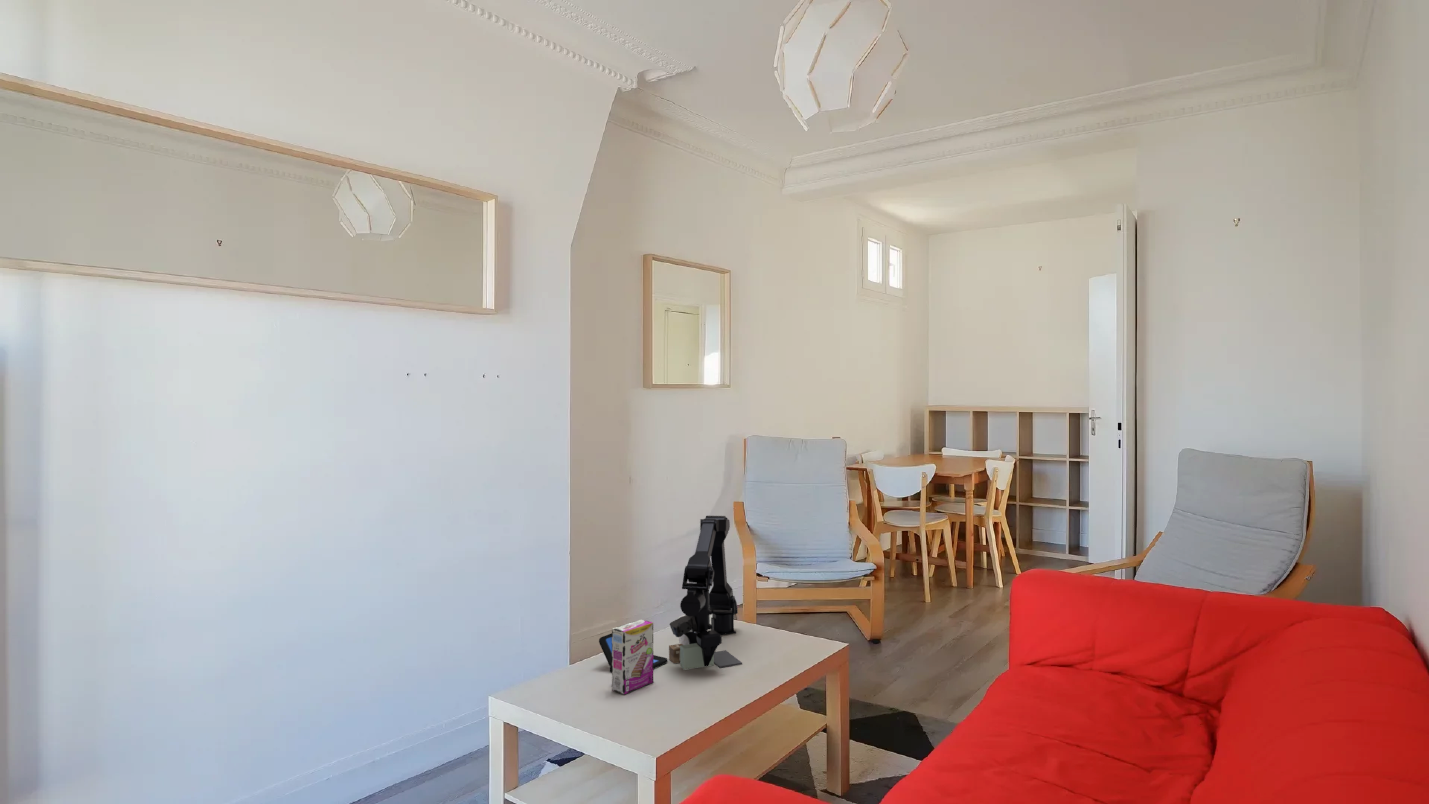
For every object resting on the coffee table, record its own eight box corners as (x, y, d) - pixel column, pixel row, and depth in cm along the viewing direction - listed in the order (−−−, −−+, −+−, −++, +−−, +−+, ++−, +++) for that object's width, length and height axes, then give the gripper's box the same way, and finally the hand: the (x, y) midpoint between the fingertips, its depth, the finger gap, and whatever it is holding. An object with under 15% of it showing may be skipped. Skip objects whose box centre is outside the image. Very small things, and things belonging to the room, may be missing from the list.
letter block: (682, 657, 224) (681, 642, 224) (687, 661, 220) (686, 647, 220) (669, 659, 222) (668, 644, 222) (673, 663, 218) (673, 649, 218)
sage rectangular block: (709, 662, 219) (709, 641, 219) (713, 665, 217) (713, 644, 217) (680, 666, 216) (680, 645, 216) (684, 670, 213) (683, 648, 213)
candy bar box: (624, 695, 195) (623, 631, 195) (611, 691, 198) (610, 628, 198) (655, 682, 204) (654, 621, 204) (641, 678, 207) (640, 618, 207)
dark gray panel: (725, 651, 228) (725, 650, 228) (742, 664, 217) (742, 662, 217) (703, 655, 225) (703, 653, 225) (719, 668, 214) (719, 666, 214)
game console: (634, 679, 207) (633, 646, 207) (597, 670, 215) (596, 638, 215) (669, 663, 220) (669, 631, 220) (633, 654, 228) (633, 624, 228)
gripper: (662, 602, 222) (663, 655, 222) (683, 618, 205) (684, 676, 205) (697, 597, 227) (698, 650, 227) (722, 613, 209) (723, 670, 209)
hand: (700, 661), depth 217 cm, fingers open, 9 cm apart
